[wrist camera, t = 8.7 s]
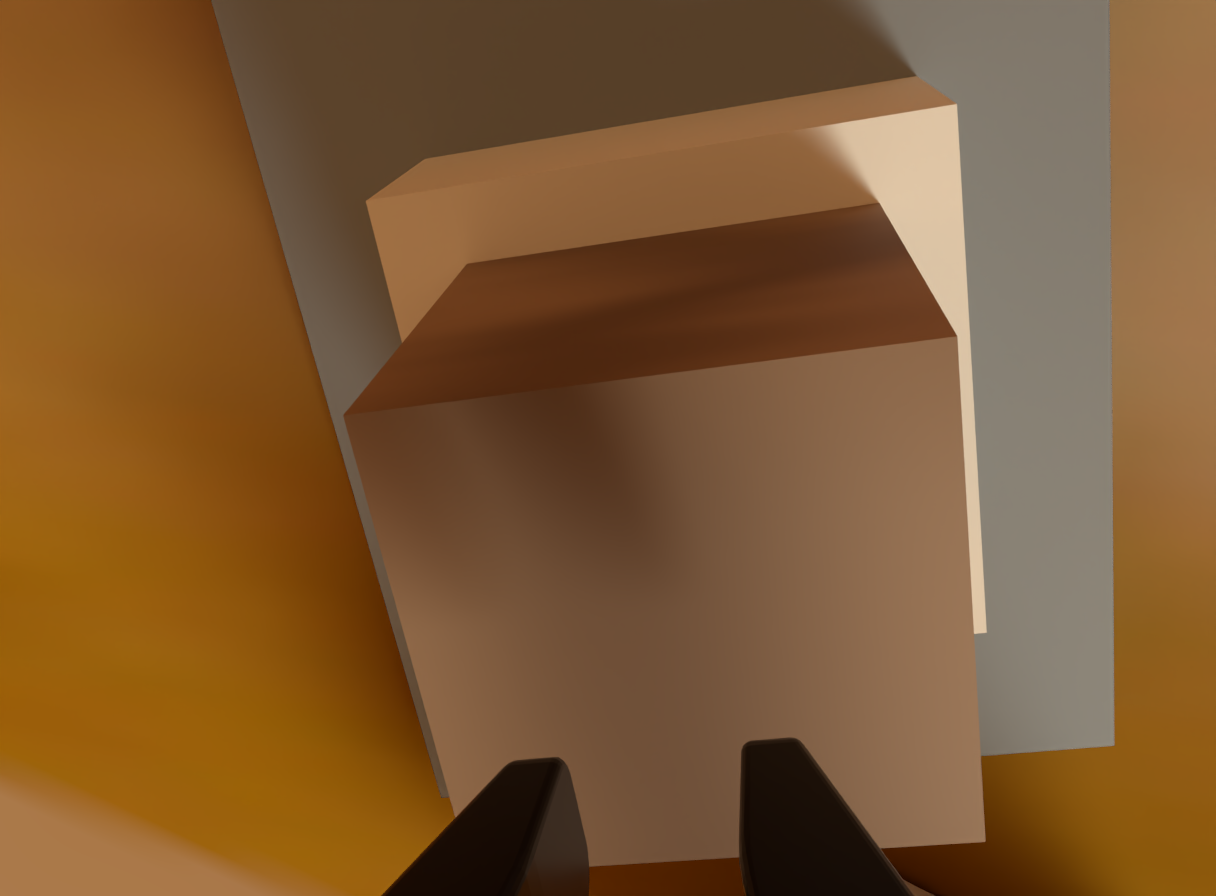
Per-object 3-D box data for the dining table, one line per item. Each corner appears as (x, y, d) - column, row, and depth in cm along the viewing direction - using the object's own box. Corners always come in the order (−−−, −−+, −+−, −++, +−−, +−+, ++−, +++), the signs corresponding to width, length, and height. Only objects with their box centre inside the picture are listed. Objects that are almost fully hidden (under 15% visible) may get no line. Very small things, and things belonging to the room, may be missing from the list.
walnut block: (879, 202, 13) (957, 336, 9) (908, 574, 15) (986, 842, 11) (466, 263, 14) (342, 415, 10) (543, 610, 16) (470, 873, 12)
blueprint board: (1083, -337, 14) (1203, -432, 11) (1097, 709, 20) (1176, 875, 17) (199, -144, 16) (46, -169, 13) (452, 762, 22) (399, 922, 19)
